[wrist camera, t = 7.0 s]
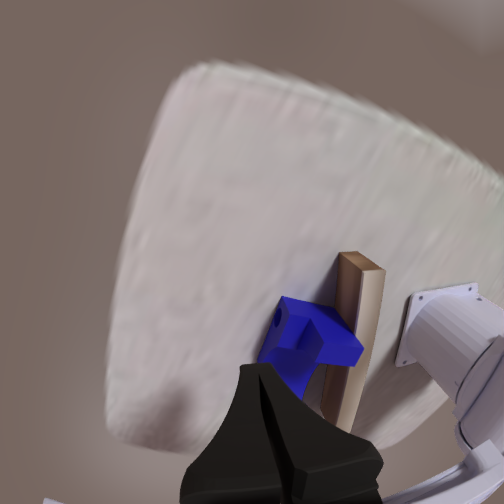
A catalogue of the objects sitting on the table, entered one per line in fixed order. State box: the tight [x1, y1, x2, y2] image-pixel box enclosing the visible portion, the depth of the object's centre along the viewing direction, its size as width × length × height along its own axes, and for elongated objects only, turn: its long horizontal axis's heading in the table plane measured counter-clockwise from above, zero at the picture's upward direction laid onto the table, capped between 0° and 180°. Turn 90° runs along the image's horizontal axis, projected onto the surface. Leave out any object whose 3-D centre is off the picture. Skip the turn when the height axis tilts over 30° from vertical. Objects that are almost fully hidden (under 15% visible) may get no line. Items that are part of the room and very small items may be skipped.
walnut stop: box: [320, 251, 386, 433], centre depth 22 cm, size 2×16×4 cm, turn 2°
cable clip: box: [257, 296, 365, 400], centre depth 21 cm, size 12×4×6 cm, turn 163°
